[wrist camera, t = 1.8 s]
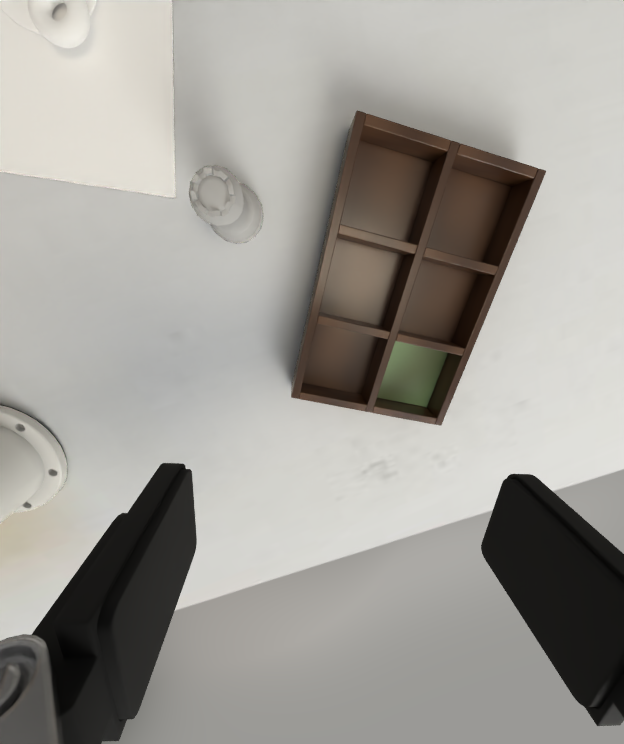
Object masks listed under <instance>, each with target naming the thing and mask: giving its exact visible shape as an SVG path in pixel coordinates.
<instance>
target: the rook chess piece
mask: <svg viewBox="0 0 624 744" xmlns="http://www.w3.org/2000/svg"><path fill="white" fill-rule="evenodd" d="M189 197H190V201H191V205H192V207H193V209H194V210H195V212H196V213H197V215H198V216H199V217H200V218H202V219H203V220H204V221H205V222H207V223H210V225H211V226H212V228H213V229H214V231H215V232H216V233H217V234H218V235H219V236H221V237H222V238H223V239H225V240H226V241H229V242H232V243H236V244H237V243H245V242H248V241H249V240H251V239H253V238H254V237H256V235H257V234H258V232H259V231H260V229H261V227H262V222H263V217H264V216H263V210H262V204H261V203H260V201H259V199H258V197H257V195H256V194H255V193H254V192H253V191H252V190H251V189H249V188H248V187H247V186H246V185H245V184H242V183H239V182H238V180H237V178H236V177H235V176H234V175H233V174H232V173H231V172H230V171H229V170H227V169H226V168H223V167H220V166H217V165H212V166H205V167H203V168H202V169H200V170H199V171H197V172H196V173H195V175H194V177H193V178H192V180H191V182H190V189H189Z"/></svg>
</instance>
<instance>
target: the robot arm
mask: <svg viewBox="0 0 624 744" xmlns="http://www.w3.org/2000/svg"><path fill="white" fill-rule="evenodd" d="M66 477H67V462H66V458H65V455H64V452H63V450H62V448H61V446H60V444H59V443H58V442H57V440H56V439H55V437H54V436H53V435H52V434H51V433H50V432H49V431H48V430H47V429H46V428H45V427H44V426H43V425H41V424H40V423H39V422H37V421H36V420H35V419H33V418H31V417H29V416H27V415H26V414H24V413H22V412H19V411H17V410H14V409H12V408H9V407H5V406H1V405H0V524H1V523H2V522H3V521H4V520H5V519H6V518H7V517H9V516H10V515H11V514H12V513H16V512H26V511H30V510H34V509H36V508H38V507H41V506H43V505H44V504H46V503H47V502H48V501H50V500H51V499H52V498H53V497H54V496H55V495H56V494H57V493H58V492H59V491H60V490H61V488H62V487H63V485H64V483H65V480H66ZM481 549H482V554H483V556H484V558H485V560H486V561H487V563H488V564H489V566H490V568H491V569H492V571H493V572H494V574H495V575H496V577H497V578H498V580H499V582H500V583H501V585H502V586H503V588H504V589H505V591H506V592H507V594H508V595H509V597H510V598H511V600H512V602H513V603H514V605H515V606H516V608H517V609H518V611H519V613H520V614H521V616H522V617H523V619H524V620H525V622H526V623H527V625H528V627H529V628H530V629H531V631H532V633H533V634H534V636H535V637H536V639H537V641H538V642H539V644H540V645H541V647H542V648H543V650H544V651H545V653H546V655H547V656H548V658H549V659H550V661H551V662H552V664H553V665H554V667H555V669H556V670H557V672H558V673H559V675H560V676H561V678H562V679H563V681H564V683H565V684H566V686H567V687H568V689H569V690H570V692H571V693H572V695H573V696H574V698H575V699H576V700H577V701H578V702H579V703H580V704H581V705H583V706H584V707H585V708H586V710H587V711H588V713H589V714H590V716H591V717H592V719H593V720H594V722H595V723H596V725H597V726H606V725H607V726H611V725H621V723H622V722H623V721H624V554H623V553H622V552H621V551H619V550H618V549H617V548H616V547H615V546H614V545H613V544H612V543H610V542H609V541H608V540H607V539H606V538H605V537H604V536H602V535H601V534H600V533H599V532H598V531H597V530H595V529H594V528H593V527H592V526H591V525H590V524H589V523H588V522H587V521H585V520H584V519H583V518H582V517H581V516H580V515H578V514H577V513H576V512H575V511H574V510H573V509H572V508H570V507H569V506H568V505H567V504H566V503H565V502H564V501H563V500H561V499H560V498H559V497H558V496H557V495H556V494H555V493H554V492H552V491H551V490H550V489H549V488H548V487H547V486H546V485H545V484H543V483H542V482H541V481H540V480H539V479H538V478H536V477H535V476H533V475H530V474H511V475H509V476H508V478H507V479H505V480H504V481H503V483H502V486H501V489H500V492H499V495H498V498H497V500H496V503H495V506H494V509H493V512H492V515H491V518H490V521H489V524H488V527H487V530H486V533H485V536H484V538H483V542H482V545H481ZM195 550H196V525H195V511H194V497H193V483H192V471H191V470H190V469H186V468H185V465H184V464H175V463H163V464H161V465H160V466H159V468H158V469H157V471H156V472H155V474H154V475H153V477H152V478H151V480H150V481H149V482H148V484H147V485H146V487H145V488H144V490H143V491H142V493H141V494H140V496H139V497H138V498H137V500H136V501H135V503H134V504H133V506H132V507H131V509H130V510H129V512H128V513H122V514H120V515H119V516H117V518H116V519H115V520H114V521H113V522H112V524H111V525H110V526H109V528H108V529H107V531H106V532H105V533H104V535H103V536H102V538H101V539H100V540H99V542H98V543H97V545H96V546H95V547H94V549H93V550H92V551H91V553H90V554H89V556H88V557H87V558H86V560H85V561H84V563H83V564H82V565H81V567H80V568H79V570H78V571H77V572H76V574H75V575H74V576H73V578H72V579H71V581H70V582H69V583H68V585H67V586H66V588H65V589H64V590H63V592H62V593H61V595H60V596H59V597H58V599H57V600H56V601H55V603H54V604H53V606H52V607H51V608H50V610H49V611H48V613H47V614H46V615H45V617H44V618H43V620H42V621H41V622H40V624H39V625H38V626H37V628H36V629H35V631H34V632H33V633H32V635H25V634H23V635H19V636H14V637H10V638H6V639H4V640H2V641H0V744H101V743H102V741H119V739H120V737H121V734H122V731H123V729H124V726H125V723H126V721H127V719H134V718H135V716H136V715H137V713H138V711H139V708H140V706H141V703H142V700H143V697H144V695H145V691H146V689H147V686H148V683H149V680H150V677H151V675H152V672H153V669H154V666H155V663H156V661H157V658H158V655H159V652H160V650H161V646H162V644H163V641H164V638H165V635H166V633H167V630H168V627H169V624H170V621H171V618H172V616H173V613H174V610H175V607H176V605H177V602H178V599H179V596H180V593H181V590H182V588H183V585H184V582H185V579H186V576H187V574H188V571H189V568H190V565H191V562H192V560H193V557H194V554H195Z"/></svg>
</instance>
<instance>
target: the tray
mask: <svg viewBox="0 0 624 744" xmlns="http://www.w3.org/2000/svg"><path fill="white" fill-rule="evenodd" d="M545 173H546V171H545V170H542V169H538V168H535V167H532V166H529V165H526V164H523V163H520V162H517V161H513V160H510V159H507V158H504V157H501V156H498V155H495V154H491V153H488V152H485V151H482V150H479V149H476V148H473V147H470V146H466V145H463V144H460V143H457V142H454V141H451V140H448V139H445V138H442V137H439V136H435V135H432V134H429V133H426V132H423V131H420V130H417V129H414V128H410V127H407V126H404V125H401V124H398V123H395V122H392V121H388V120H385V119H382V118H379V117H376V116H373V115H370V114H366V113H364V112H360V111H356V114H355V116H354V119H353V121H352V124H351V126H350V129H349V132H348V137H347V141H346V146H345V150H344V155H343V159H342V164H341V168H340V172H339V177H338V181H337V186H336V190H335V195H334V199H333V204H332V208H331V212H330V217H329V221H328V226H327V230H326V235H325V239H324V243H323V248H322V252H321V257H320V261H319V266H318V270H317V275H316V279H315V283H314V288H313V292H312V297H311V301H310V306H309V310H308V315H307V319H306V323H305V328H304V332H303V337H302V341H301V346H300V350H299V355H298V359H297V363H296V368H295V372H294V377H293V381H292V392H291V397H292V398H297V399H303V400H308V401H313V402H319V403H324V404H329V405H335V406H340V407H345V408H350V409H356V410H361V411H366V412H371V413H376V414H382V415H387V416H392V417H398V418H403V419H408V420H413V421H419V422H424V423H429V424H435V425H441V424H442V422H443V419H444V417H445V415H446V412H447V410H448V407H449V405H450V403H451V400H452V398H453V395H454V393H455V390H456V388H457V386H458V383H459V381H460V378H461V376H462V374H463V371H464V369H465V366H466V364H467V361H468V359H469V357H470V354H471V352H472V349H473V347H474V345H475V342H476V340H477V337H478V335H479V332H480V330H481V328H482V325H483V323H484V320H485V318H486V316H487V313H488V311H489V308H490V306H491V303H492V301H493V299H494V296H495V294H496V291H497V289H498V287H499V284H500V282H501V279H502V277H503V274H504V272H505V270H506V267H507V265H508V262H509V260H510V258H511V255H512V253H513V250H514V248H515V245H516V243H517V241H518V238H519V236H520V233H521V231H522V229H523V226H524V224H525V221H526V219H527V216H528V214H529V212H530V209H531V207H532V204H533V202H534V200H535V197H536V195H537V192H538V190H539V187H540V185H541V183H542V180H543V178H544V175H545Z"/></svg>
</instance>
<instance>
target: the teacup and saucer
mask: <svg viewBox="0 0 624 744" xmlns="http://www.w3.org/2000/svg"><path fill="white" fill-rule="evenodd" d="M97 3H98V0H0V10H1V11H2V12H3V13H4V14H5V15H6V16H7V17H8V18H10V19H11V20H12V21H13V22H15V23H16V24H17V25H19V26H20V27H22V28H24V29H26V30H28V31H30V32H32V33H34V34H37V35H41V36H42V37H43V38H44V39H46V40H47V41H48V42H50V43H51V44H53V45H55V46H57V47H59V48H62V49H74V48H77V47H79V46H80V45H81V44H83V43H84V41H85V40H86V39H87V37H88V35H89V33H90V29H91V16H92V14H93V13H94V11H95V9H96V6H97Z"/></svg>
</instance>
